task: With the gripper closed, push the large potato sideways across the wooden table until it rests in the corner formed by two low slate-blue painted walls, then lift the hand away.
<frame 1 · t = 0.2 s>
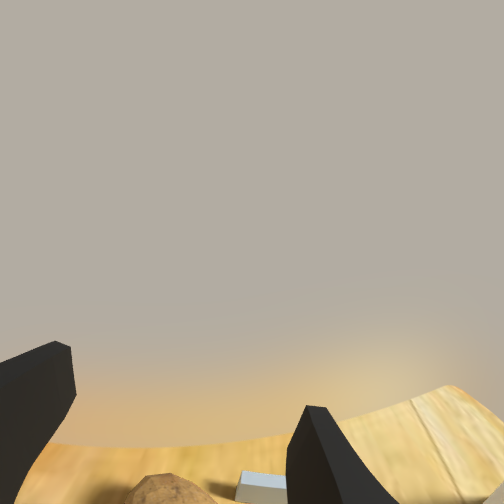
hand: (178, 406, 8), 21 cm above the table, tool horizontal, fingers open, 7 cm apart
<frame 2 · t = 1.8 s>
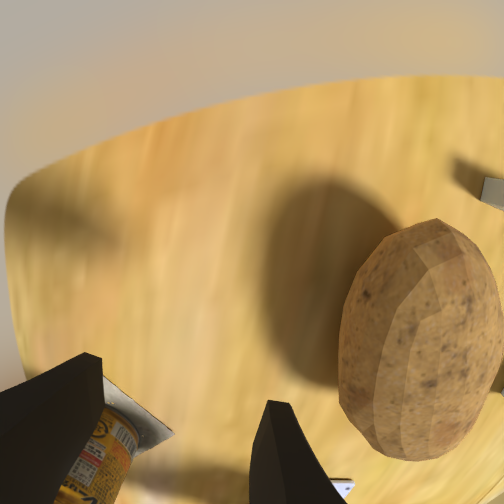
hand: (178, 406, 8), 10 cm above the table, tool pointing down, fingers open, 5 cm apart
potato: (396, 314, 19), on the table
condiment: (115, 422, 23), on the table
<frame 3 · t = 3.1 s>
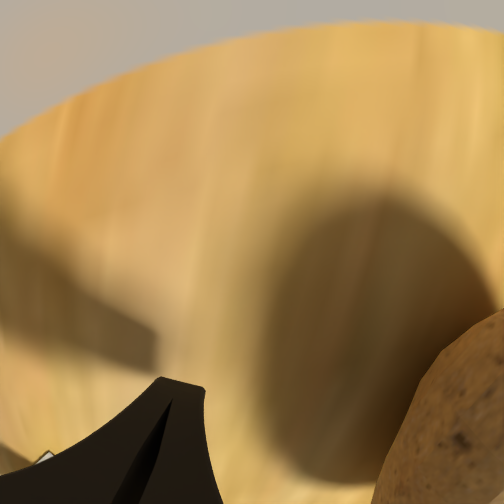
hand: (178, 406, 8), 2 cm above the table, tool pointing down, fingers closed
potato: (456, 396, 11), on the table
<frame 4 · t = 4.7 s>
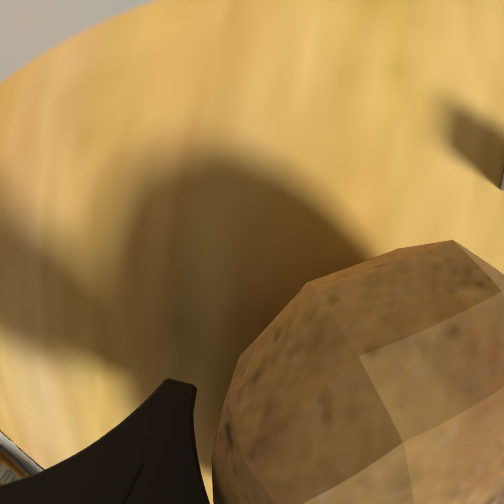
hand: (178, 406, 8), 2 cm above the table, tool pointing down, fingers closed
potato: (354, 397, 11), on the table, touching gripper
condiment: (12, 460, 14), on the table
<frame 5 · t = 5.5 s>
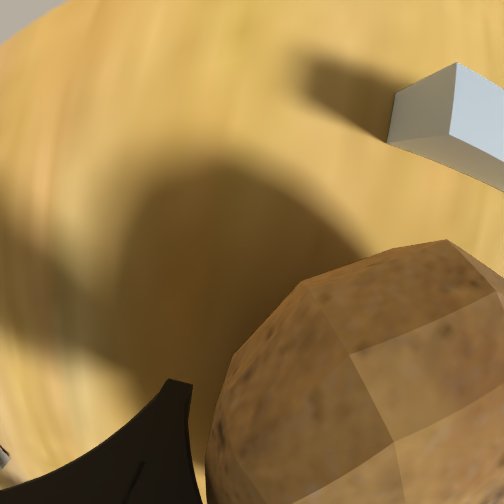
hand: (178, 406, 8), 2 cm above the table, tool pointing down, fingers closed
corner walls: (482, 342, 10), on the table
potato: (350, 397, 11), on the table, touching gripper
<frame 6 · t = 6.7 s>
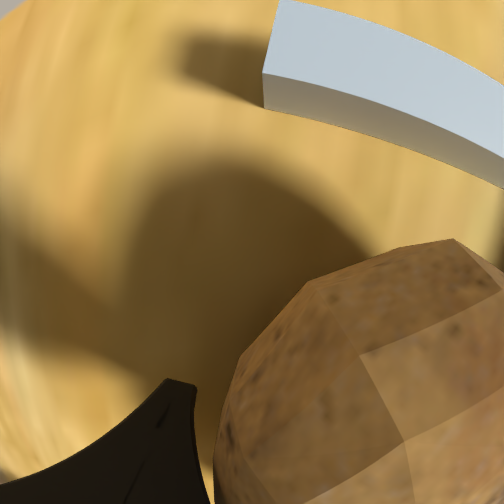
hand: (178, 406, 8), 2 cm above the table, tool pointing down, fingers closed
corner walls: (414, 331, 10), on the table
potato: (355, 396, 11), on the table, touching gripper
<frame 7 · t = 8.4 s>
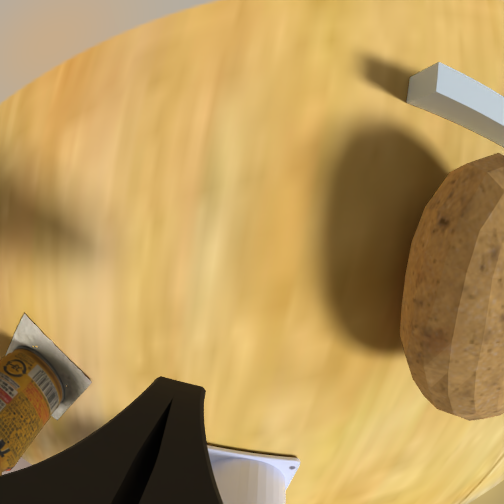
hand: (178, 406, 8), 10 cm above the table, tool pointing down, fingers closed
corner walls: (474, 225, 16), on the table
potato: (447, 268, 17), on the table
condiment: (42, 370, 21), on the table
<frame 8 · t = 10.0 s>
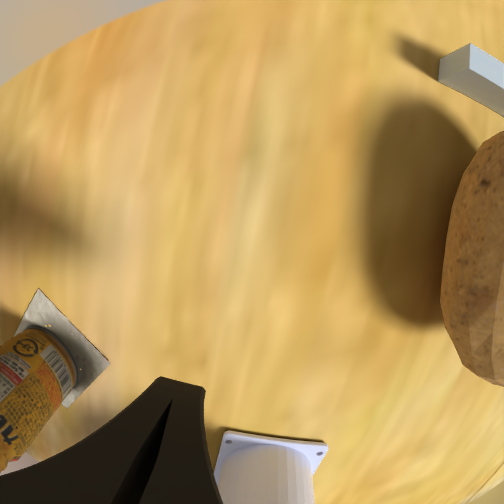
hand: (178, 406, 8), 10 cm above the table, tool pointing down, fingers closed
corner walls: (500, 200, 16), on the table
potato: (476, 242, 17), on the table
condiment: (54, 353, 21), on the table
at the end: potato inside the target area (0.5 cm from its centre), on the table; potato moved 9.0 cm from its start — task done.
